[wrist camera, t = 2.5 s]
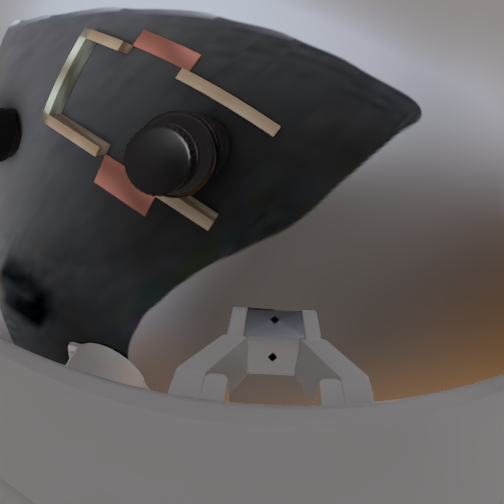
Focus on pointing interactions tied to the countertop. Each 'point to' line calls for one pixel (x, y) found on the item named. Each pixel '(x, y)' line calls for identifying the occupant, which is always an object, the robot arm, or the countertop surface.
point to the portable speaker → (8, 133)
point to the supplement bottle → (177, 154)
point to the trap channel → (110, 169)
